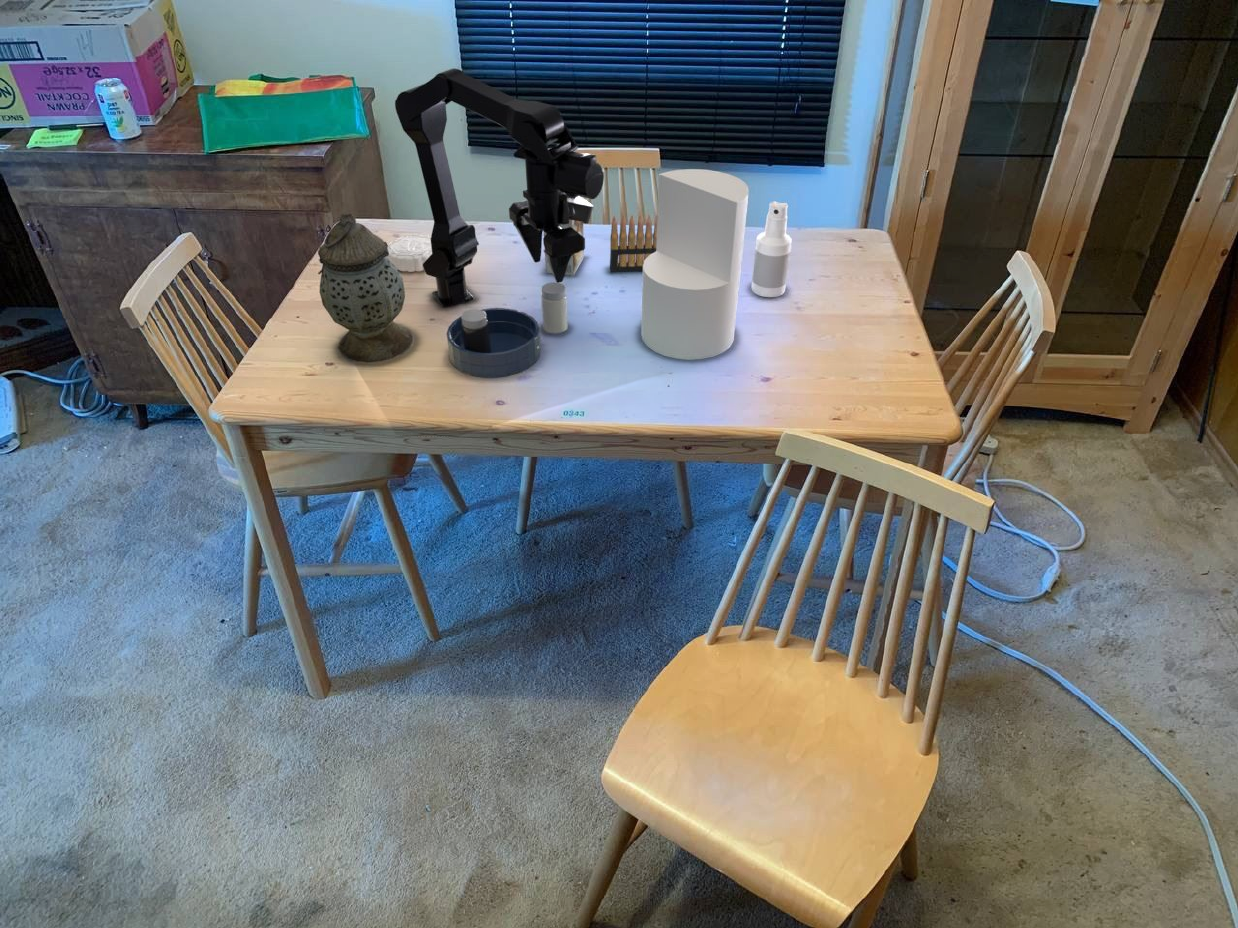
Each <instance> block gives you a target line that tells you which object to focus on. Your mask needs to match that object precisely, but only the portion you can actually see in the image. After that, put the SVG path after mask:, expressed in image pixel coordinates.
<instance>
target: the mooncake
mask: <svg viewBox="0 0 1238 928" xmlns="http://www.w3.org/2000/svg"><path fill="white" fill-rule="evenodd" d="M387 245H388V247H387V248H388V252H389V255H388V256H387V257H386V258H387V259H388V260H389V261H390V262H391V263H393V264H394V265H395V266H396V268H397V270H398V271H400V272H409V273H413V272H422V271H425V270H424V268H423V263H424V262H425V261H426V260H427V259H428V258H429V257H430V256H431V255H432V248H431V236H429V235H426V234H424V235H420V234H410V235H403V236H401V237H399V238H395V239H393V240H391V241H390V242H388V243H387Z"/></svg>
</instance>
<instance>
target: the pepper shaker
mask: <svg viewBox="0 0 1238 928" xmlns="http://www.w3.org/2000/svg"><path fill="white" fill-rule="evenodd" d="M460 317H461V318H462V324H461V325H462V332H463V340H464V348H465V349H466V350H469V351H472V352H479V353H491V344H490V334H489V325H488V320H487V315H486V313H485V312H484V311H482V309H478V308H475V309H468V310H465V311H464V312H463V313H462V314H461V316H460Z"/></svg>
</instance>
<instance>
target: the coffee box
mask: <svg viewBox="0 0 1238 928" xmlns="http://www.w3.org/2000/svg"><path fill="white" fill-rule="evenodd" d="M579 197H580V196H579ZM581 198H583V197H581ZM559 227H560V228H562V229H564V228H568V227H572V228H573V229H574V230H575V231H577V232H578V233H579V234H580V235H582V236H583V237H584V223H583V222H580V221H574V220H570V219H569V224H565V225H563V224H560V226H559ZM546 234H547V233H545V232H544V231H543V238H544V237H545V235H546ZM584 238H585V237H584ZM543 247H544V246H543ZM544 249H545V247H544ZM584 258H585V249H584V250H583V251H580V252H578V253H575V254H573V255H572V256H571V258H570V260H569V263H568V266H567V269H566V272H565V276H575V274H576V273H577V271H578V269H579V267H580V266H581V264H582V262H583V260H584ZM544 262H545V263H544V265H545V273H546V274H552V275H553V273H552V270H551V268H550V265H549V263H548V260H547V258H546V255H545V254H544Z"/></svg>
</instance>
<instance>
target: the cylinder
mask: <svg viewBox="0 0 1238 928" xmlns="http://www.w3.org/2000/svg"><path fill="white" fill-rule="evenodd" d="M657 186H658V188H657V214H656V216H657V244H656V252H654V253H652V254H651V255H649V256H648V257H647V258H646V259H645V260H644V264H643V272H642V281H641V282H642V286H641V326H640V327H641V328H640V334H641V339H642V342H643V343H644V344H645V346H646V347H647V348H648V349H650V350H652V351H653V352H654V353H656V354H659V355H662V356H664V357H668V358H672V359H677V360H687V361H688V360H689V361H693V360H694V361H695V360H704V359H709V358H713V357H716V356H718V355H721V354H723V353H724V352H726V351H728V349H730V348H731V346H732V344H733V343H734V339H735V332H736V331H735V330H736V319H737V311H738V310H737V309H738V302H739V301H738V300H739V292H740V291H739V290H740V280H741V271H742V263H743V251H744V243H745V233H746V232H745V231H746V221H747V214H748V213H747V212H748V201H749V192H750V188H749V186H748V185H747V183H746V182H744V181H743V180H742V179H741V178H739V177H736V176H734V175H733V174H729V173H726V172H722V171H718V170H717V171H716V170H711V169H700V168H699V169H698V168H687V169H676V170H670V171H665V172H662V173H658V185H657Z"/></svg>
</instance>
